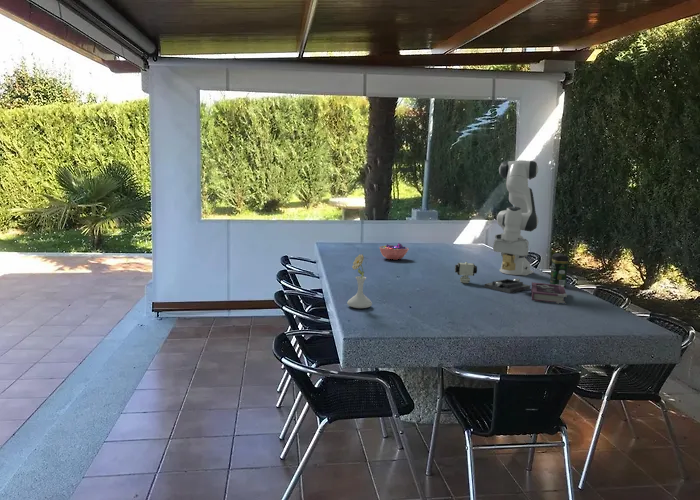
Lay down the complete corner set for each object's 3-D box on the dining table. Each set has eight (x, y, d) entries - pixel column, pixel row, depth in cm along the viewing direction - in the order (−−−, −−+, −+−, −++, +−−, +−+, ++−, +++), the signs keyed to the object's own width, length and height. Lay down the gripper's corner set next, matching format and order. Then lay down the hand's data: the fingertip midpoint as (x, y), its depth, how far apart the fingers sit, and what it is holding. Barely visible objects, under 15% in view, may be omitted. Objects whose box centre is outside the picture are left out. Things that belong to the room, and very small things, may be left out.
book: (566, 305, 285) (567, 295, 284) (531, 301, 289) (532, 291, 289) (562, 294, 309) (563, 285, 308) (531, 291, 314) (532, 282, 313)
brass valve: (509, 268, 319) (511, 248, 318) (517, 269, 315) (519, 249, 314) (499, 269, 313) (501, 249, 312) (507, 270, 310) (509, 250, 308)
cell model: (376, 257, 400) (377, 240, 398) (405, 257, 402) (406, 241, 401) (380, 261, 383) (381, 244, 382) (410, 262, 386) (411, 245, 384)
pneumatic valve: (475, 284, 324) (477, 263, 322) (454, 283, 324) (456, 262, 322) (474, 282, 329) (475, 261, 327) (453, 281, 329) (455, 260, 328)
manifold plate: (505, 283, 329) (505, 275, 328) (530, 288, 317) (530, 281, 316) (484, 287, 316) (484, 279, 315) (509, 293, 304) (510, 285, 303)
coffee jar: (547, 283, 333) (550, 252, 330) (561, 284, 333) (564, 252, 330) (553, 287, 324) (556, 254, 321) (567, 288, 324) (570, 255, 321)
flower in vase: (347, 303, 268) (349, 250, 264) (371, 304, 268) (374, 251, 264) (346, 310, 255) (348, 255, 251) (372, 311, 255) (374, 256, 251)
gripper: (531, 239, 306) (529, 264, 308) (499, 234, 321) (497, 258, 323) (525, 239, 302) (522, 265, 304) (492, 234, 317) (490, 259, 319)
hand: (509, 262), depth 314 cm, fingers closed on brass valve, 5 cm apart
